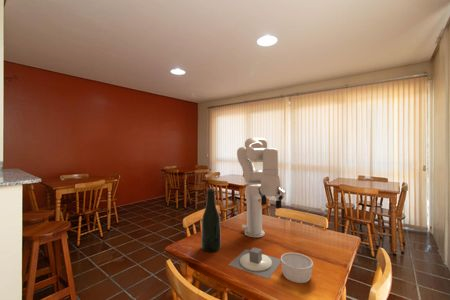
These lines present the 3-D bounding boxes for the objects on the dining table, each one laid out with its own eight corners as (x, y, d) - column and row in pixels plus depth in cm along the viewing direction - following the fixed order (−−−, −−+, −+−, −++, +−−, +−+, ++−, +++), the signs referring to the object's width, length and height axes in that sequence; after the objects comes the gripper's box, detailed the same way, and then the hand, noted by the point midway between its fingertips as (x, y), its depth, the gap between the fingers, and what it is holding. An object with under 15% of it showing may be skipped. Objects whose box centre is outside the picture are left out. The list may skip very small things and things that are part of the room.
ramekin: (317, 275, 93) (317, 259, 93) (305, 290, 83) (305, 272, 83) (288, 264, 102) (288, 249, 102) (274, 276, 92) (274, 260, 92)
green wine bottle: (198, 251, 114) (198, 189, 114) (205, 242, 125) (205, 186, 124) (217, 254, 112) (216, 190, 111) (223, 245, 122) (222, 186, 121)
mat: (228, 265, 100) (228, 265, 100) (245, 249, 116) (245, 249, 116) (268, 279, 90) (268, 278, 90) (282, 260, 105) (282, 259, 105)
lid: (234, 265, 100) (234, 252, 100) (248, 251, 113) (248, 240, 113) (264, 275, 92) (264, 261, 92) (276, 259, 105) (276, 247, 105)
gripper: (253, 172, 114) (253, 204, 114) (279, 174, 100) (279, 211, 100) (263, 171, 118) (263, 202, 118) (289, 173, 104) (290, 208, 104)
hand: (271, 206), depth 109 cm, fingers open, 9 cm apart
